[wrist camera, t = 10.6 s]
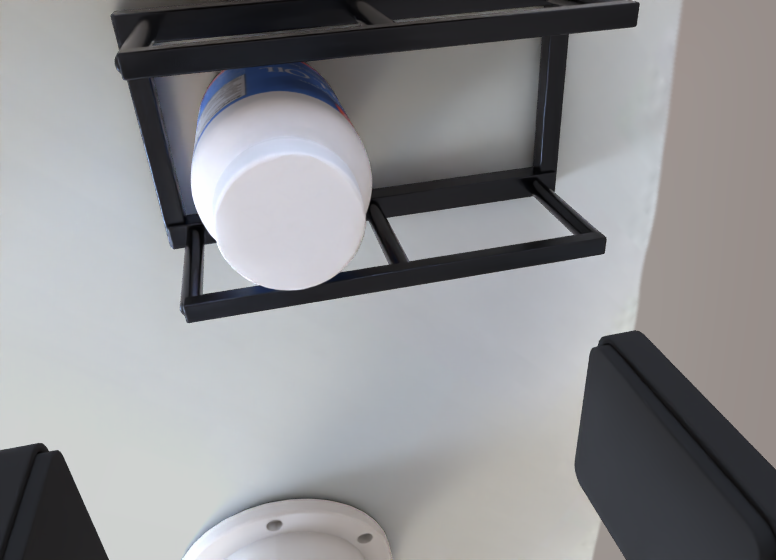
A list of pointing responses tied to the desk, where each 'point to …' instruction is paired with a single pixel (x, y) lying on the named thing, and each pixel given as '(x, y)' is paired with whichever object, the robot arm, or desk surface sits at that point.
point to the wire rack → (376, 36)
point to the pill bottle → (280, 175)
